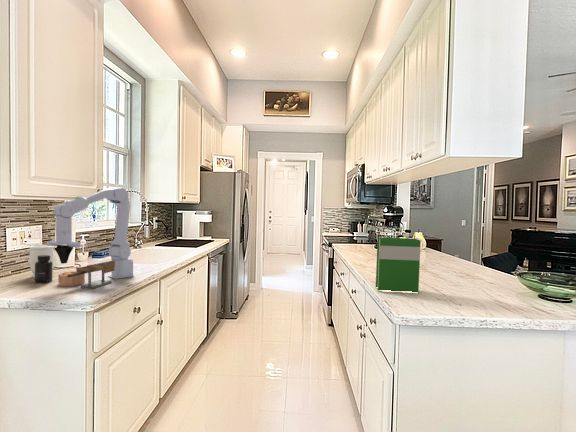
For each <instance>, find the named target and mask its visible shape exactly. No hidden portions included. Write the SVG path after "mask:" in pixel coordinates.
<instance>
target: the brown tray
mask: <svg viewBox="0 0 576 432" xmlns="http://www.w3.org/2000/svg"><path fill="white" fill-rule="evenodd" d="M114 267H115V261H112V260H110V261H104V262H99V263H93V264H89V265H86V266H85V265H84V266H80V267H76V268H75V270H76V271H77V272H78V273H74V274H70V275H67V276H68V277H73V276H77V275H81V274H85V275H86V274H88V270H91V273H94V272H99V271H100V272H102V270H103V271H104V274H107V273H111V272H112V271H114Z"/></svg>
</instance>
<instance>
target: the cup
mask: <svg viewBox="0 0 576 432" xmlns="http://www.w3.org/2000/svg"><path fill="white" fill-rule="evenodd" d="M68 272H69V273H72V274H74V273H78V272H77V270H76V271H66V272H65V271H64V272H60V273H59V274H58V275H57V276H58V277H57V278H58V279H57V280H58V283H57V284H58V286H60V287H61V286H62V287H75V286H79V285H80V286H81V285H84V284H85V283H86V273H85V274H81V275H77V276H73V277H68V276H67V275H64V274H65V273H68Z"/></svg>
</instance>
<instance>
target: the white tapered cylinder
mask: <svg viewBox="0 0 576 432" xmlns="http://www.w3.org/2000/svg"><path fill="white" fill-rule="evenodd" d="M55 248H56V246H48V244H34V245H33V244H32V245H29V249H30V251H29V254H28V262H29V267H30V268H29V269H30V270H31V273H32V274H31V277H32V278H35V263H36V262H37V261H38V260H37V259H38V256H39V255H50V261H51V262H52V263H53V268H54V266H55V260H56V254H55Z"/></svg>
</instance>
